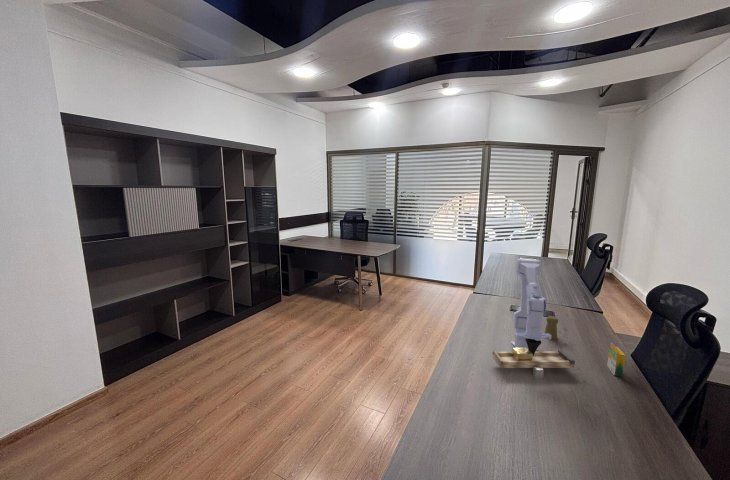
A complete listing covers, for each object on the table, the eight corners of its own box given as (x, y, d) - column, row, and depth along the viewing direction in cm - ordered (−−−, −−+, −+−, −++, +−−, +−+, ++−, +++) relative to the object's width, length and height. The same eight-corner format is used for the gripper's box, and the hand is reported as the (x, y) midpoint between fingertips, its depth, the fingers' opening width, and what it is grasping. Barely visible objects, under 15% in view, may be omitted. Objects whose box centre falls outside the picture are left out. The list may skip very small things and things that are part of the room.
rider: (525, 355, 129) (526, 347, 129) (531, 362, 124) (532, 353, 124) (512, 355, 129) (512, 347, 129) (517, 362, 124) (518, 353, 124)
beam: (561, 357, 131) (561, 349, 131) (574, 369, 123) (575, 360, 122) (491, 357, 132) (492, 350, 131) (500, 369, 123) (501, 361, 122)
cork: (555, 334, 157) (557, 315, 155) (558, 340, 151) (561, 320, 149) (542, 333, 159) (544, 314, 157) (545, 338, 153) (547, 318, 151)
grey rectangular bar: (525, 359, 134) (526, 351, 134) (542, 378, 121) (543, 369, 120) (518, 359, 134) (519, 351, 134) (535, 378, 121) (536, 369, 120)
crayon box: (622, 377, 121) (627, 351, 119) (614, 375, 122) (618, 350, 120) (615, 367, 128) (618, 342, 126) (606, 365, 129) (610, 341, 127)
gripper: (522, 329, 120) (519, 359, 122) (557, 329, 120) (553, 359, 122) (513, 321, 127) (511, 350, 129) (546, 321, 127) (543, 350, 129)
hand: (531, 354), depth 126 cm, fingers closed
